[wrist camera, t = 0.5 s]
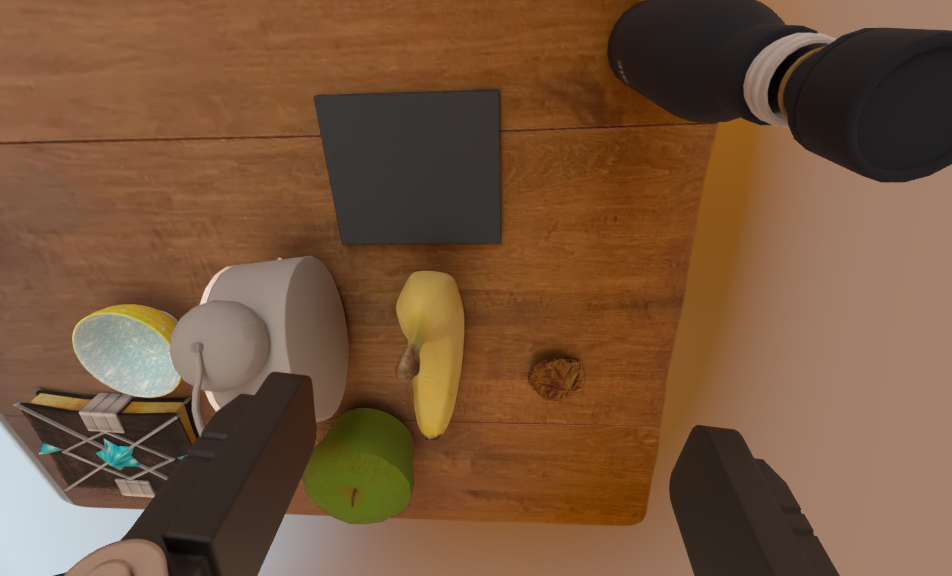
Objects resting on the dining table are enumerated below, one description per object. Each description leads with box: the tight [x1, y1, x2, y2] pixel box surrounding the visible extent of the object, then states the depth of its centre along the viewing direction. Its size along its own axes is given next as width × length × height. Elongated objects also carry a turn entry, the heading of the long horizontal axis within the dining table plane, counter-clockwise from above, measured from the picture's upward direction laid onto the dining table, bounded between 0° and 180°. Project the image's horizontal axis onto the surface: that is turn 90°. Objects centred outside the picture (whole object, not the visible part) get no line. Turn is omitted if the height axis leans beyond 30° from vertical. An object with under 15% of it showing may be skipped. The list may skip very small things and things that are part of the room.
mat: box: [314, 90, 501, 244], centre depth 45 cm, size 14×16×1 cm
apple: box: [302, 408, 414, 524], centre depth 58 cm, size 12×12×11 cm
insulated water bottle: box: [607, 0, 952, 182], centre depth 26 cm, size 6×6×30 cm
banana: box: [395, 271, 464, 440], centre depth 45 cm, size 23×6×20 cm, turn 177°
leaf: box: [528, 358, 585, 401], centre depth 55 cm, size 6×7×2 cm
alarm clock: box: [170, 256, 349, 436], centre depth 43 cm, size 16×9×22 cm, turn 7°
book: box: [14, 387, 200, 498], centre depth 64 cm, size 22×17×5 cm
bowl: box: [72, 304, 182, 398], centre depth 54 cm, size 11×12×6 cm
